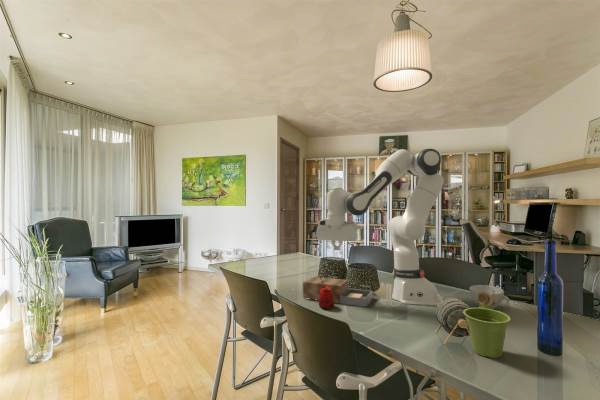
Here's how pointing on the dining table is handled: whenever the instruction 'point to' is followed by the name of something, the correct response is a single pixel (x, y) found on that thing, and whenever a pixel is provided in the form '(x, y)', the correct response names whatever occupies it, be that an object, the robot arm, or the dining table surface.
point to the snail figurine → (485, 300)
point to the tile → (355, 295)
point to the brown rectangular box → (315, 285)
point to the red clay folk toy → (326, 297)
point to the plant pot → (487, 330)
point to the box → (356, 301)
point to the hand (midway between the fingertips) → (337, 250)
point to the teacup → (488, 290)
